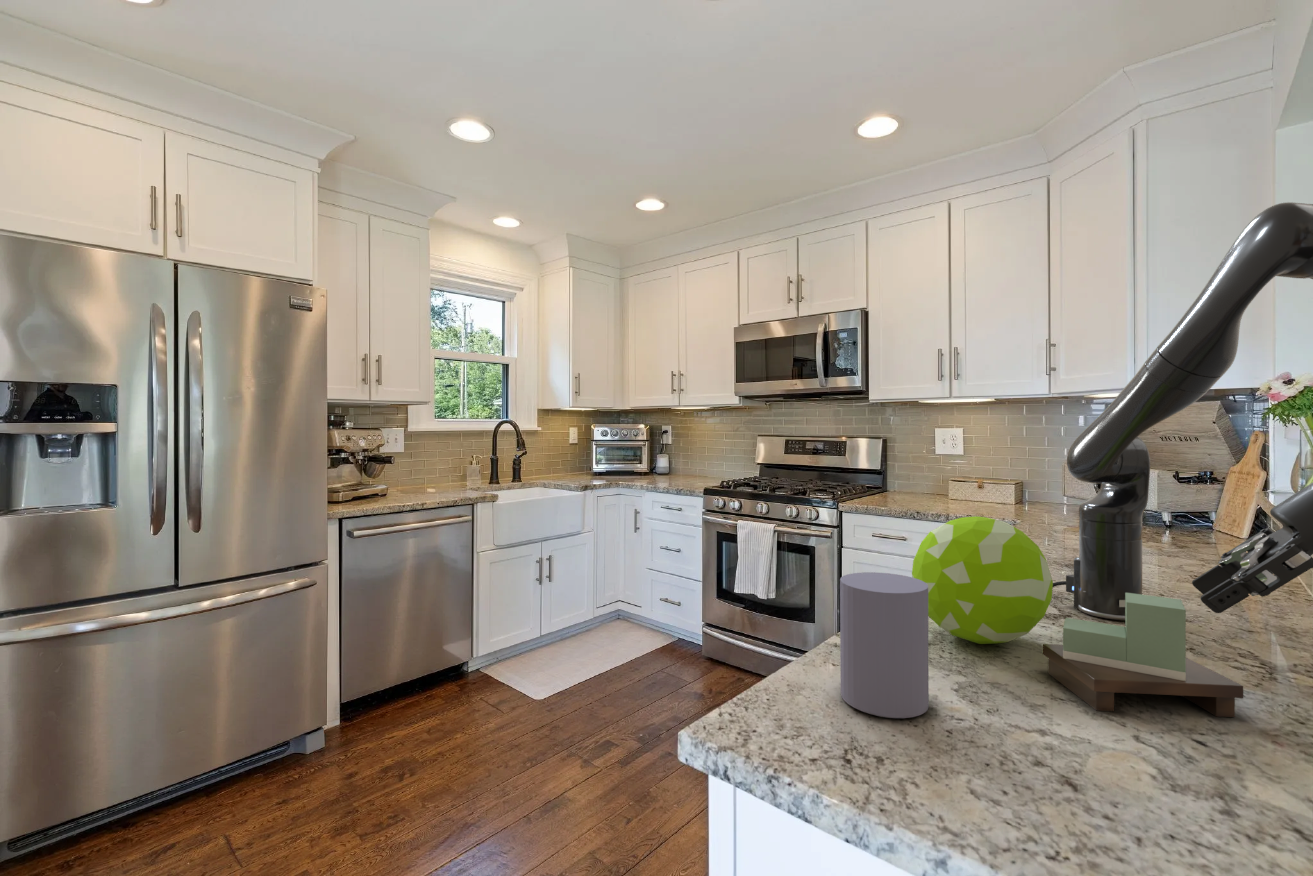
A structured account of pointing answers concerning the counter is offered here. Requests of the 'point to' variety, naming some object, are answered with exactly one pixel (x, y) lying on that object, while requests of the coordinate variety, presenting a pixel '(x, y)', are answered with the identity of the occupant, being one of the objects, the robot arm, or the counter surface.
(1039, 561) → the melon
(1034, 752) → the counter surface
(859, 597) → the container
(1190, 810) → the counter surface
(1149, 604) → the sage green stepped block
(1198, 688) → the shoe shelf
